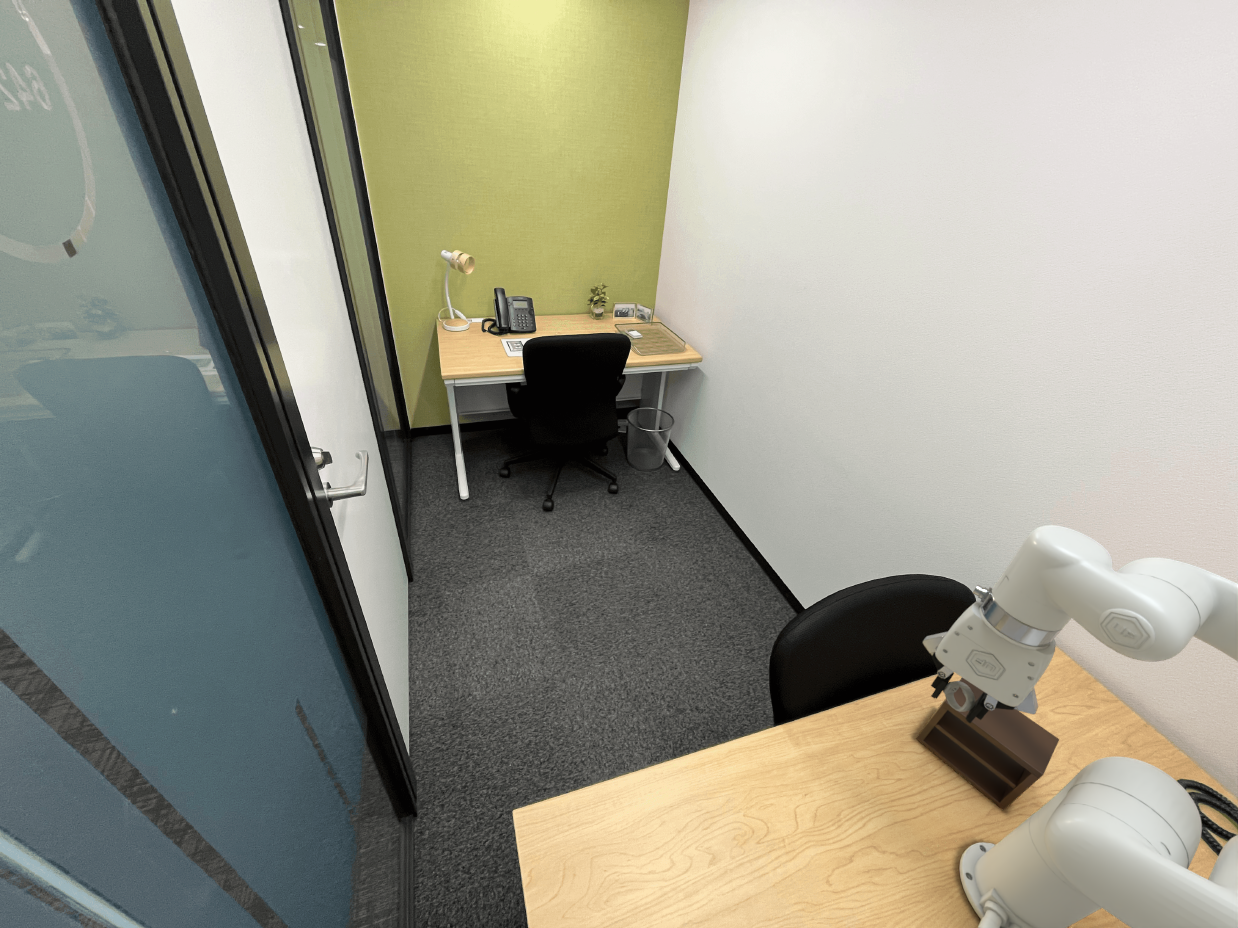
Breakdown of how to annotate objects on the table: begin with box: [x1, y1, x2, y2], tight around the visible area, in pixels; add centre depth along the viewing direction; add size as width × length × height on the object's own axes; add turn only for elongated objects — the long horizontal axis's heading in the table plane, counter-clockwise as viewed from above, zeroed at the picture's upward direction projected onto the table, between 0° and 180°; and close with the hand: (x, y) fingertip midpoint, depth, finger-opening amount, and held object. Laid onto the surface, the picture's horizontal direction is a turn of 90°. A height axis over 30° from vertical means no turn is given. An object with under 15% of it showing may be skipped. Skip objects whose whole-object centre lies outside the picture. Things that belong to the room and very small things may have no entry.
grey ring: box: [942, 680, 976, 712], centre depth 69 cm, size 4×2×4 cm, turn 11°
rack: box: [915, 677, 1060, 811], centre depth 83 cm, size 9×14×12 cm, turn 39°
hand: (954, 702), depth 70 cm, fingers closed on grey ring, 3 cm apart
